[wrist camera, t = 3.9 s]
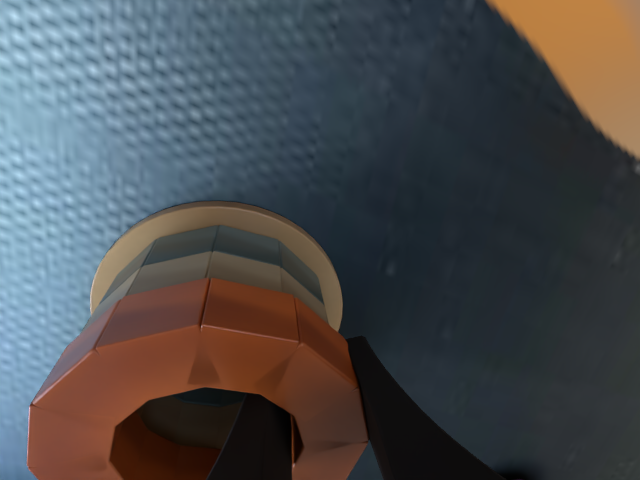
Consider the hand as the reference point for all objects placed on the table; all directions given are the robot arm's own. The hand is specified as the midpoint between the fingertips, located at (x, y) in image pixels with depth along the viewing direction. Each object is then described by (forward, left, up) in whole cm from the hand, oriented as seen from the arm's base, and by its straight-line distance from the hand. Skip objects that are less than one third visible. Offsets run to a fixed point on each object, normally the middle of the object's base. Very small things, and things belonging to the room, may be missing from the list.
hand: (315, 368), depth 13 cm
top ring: (-3, 0, 0) cm, 3 cm away
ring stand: (-4, 0, -4) cm, 6 cm away
